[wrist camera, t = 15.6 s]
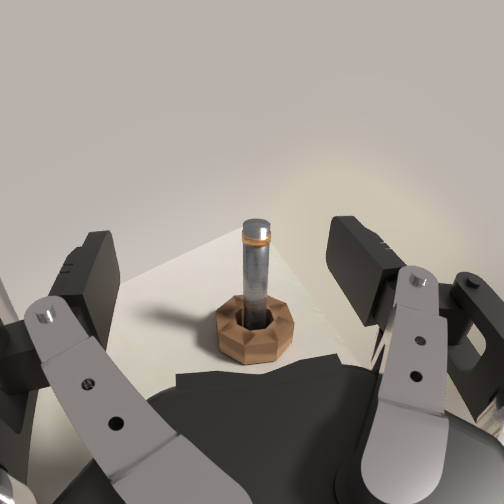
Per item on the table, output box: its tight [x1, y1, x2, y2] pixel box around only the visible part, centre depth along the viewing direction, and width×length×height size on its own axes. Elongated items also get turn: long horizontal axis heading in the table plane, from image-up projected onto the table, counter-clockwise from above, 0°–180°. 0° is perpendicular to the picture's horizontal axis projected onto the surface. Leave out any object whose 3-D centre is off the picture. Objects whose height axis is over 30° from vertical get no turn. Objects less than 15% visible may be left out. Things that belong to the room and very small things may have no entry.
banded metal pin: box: [242, 219, 271, 331], centre depth 32 cm, size 3×3×14 cm
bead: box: [216, 295, 294, 365], centre depth 35 cm, size 8×8×3 cm
